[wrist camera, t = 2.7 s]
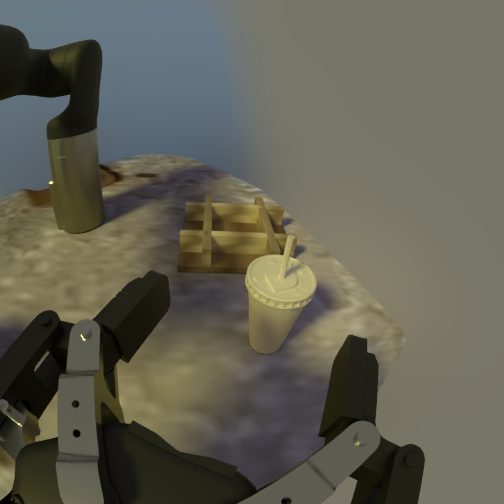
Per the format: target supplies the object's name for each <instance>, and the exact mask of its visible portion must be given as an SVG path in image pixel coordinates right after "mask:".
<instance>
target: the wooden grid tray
mask: <svg viewBox="0 0 504 504" xmlns="http://www.w3.org/2000/svg"><path fill="white" fill-rule="evenodd" d="M283 213H284V208H283V207H279V206H265V205H264V202H263V199H262V198H259V197H255V204H254V205H248V204H228V203H212V195H206V197H205V202H186V205H185V225H184V230H180V234H179V235H180V255H179V262H178V272H202V273H245V274H247V269H248V266H249V265H250V263H251V262H252V261H254V260H255V259H257V258H259V257H262V256H266V255H283V254H284V250H285V246H286V241H287V237H288V235H293V236H295V238H294V242H293V246H292V251H291V255H290V257H292V258H294V256H293V254H294V250H295V246H296V242H297V237H296V235H295V234H285V233H284V230H283V228H282V225H281V223H282V218H283Z"/></svg>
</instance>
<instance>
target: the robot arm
mask: <svg viewBox="0 0 504 504" xmlns="http://www.w3.org/2000/svg"><path fill="white" fill-rule="evenodd" d="M101 69H102V51H101V47H100V45H99V43H98V42H97V41H95V40H84V41H79V42H76V43H72V44H68V45H64V46H61V47H58V48H54V49H49V50H38V49H30V48H29V44H28V41H27V39H26V38H25V35H24V34H23V33H22V32H21V31H19V30H18V29H16V28H13V27H10V26H6V25H0V100H3V99H7V98H9V97H13V96H16V95H31V96H32V95H33V96H40V97H48V98H52V97H59V96H64V95H70V94H71V95H70V102H69V105H68V107H67V108H66V109H65V110H64V111H63V112H62V113H61V114H60V115H58V116H57V117H55V118H54V119H52V120H51V121H49V123H48V124H47V140H48V150H49V159H50V166H51V174H52V179H51V180H50V181H49V188H50V194H51V199H52V204H53V208H54V213H55V217H56V221H57V225H58V229H63V230H64V231H66V232H68V233H82V232H86V231H89V230H91V229H93V228H95V227H97V226H99V225H100V224H101V223H102V222H103V221H104V219H105V211H104V204H103V196H102V188H101V180H100V170H99V159H98V144H97V114H98V108H99V89H100V79H101ZM169 306H170V292H169V283H168V277H167V276H166V275H163V274H161V273H158V272H155V271H153V270H152V271H149V272H148V273H147V274H146V275H145V276H144V277H143V278H137V279H135V280H133V281H131V282H129V283H128V284H127V285H126V286H125V287H124V288H123V289H122V290H121V292H119V293H118V294H117V295H116V297H114V298H113V299H112V300H111V301H110V302H109V303H108V304H107V305H106V306H105V307H104V308H103V309H102V310H101V312H100V313H99V314H98V315H97V316H96V317H95V318H94V319H93V320H89V319H86V320H81V321H79V322H77V323H76V324H73V323H69V322H64V321H61V320H60V318H59V316H58V314H57V313H56V312H54V311H52V310H47V311H44V312H42V313H40V314H39V315H38V316H37V317H36V318H35V319H34V320H33V321H32V322H31V323H30V325H29V326H28V327H27V328H26V329H25V330H24V331H23V332H22V334H21V335H20V336H19V337H18V338H17V339H16V341H15V342H14V343H13V344H12V345H11V347H10V348H9V349H8V350H7V352H6V353H5V354H4V355H3V357H2V358H1V359H0V445H1V446H2V447H3V448H4V449H5V451H6V452H7V453H8V454H9V455H10V456H11V457H12V458H13V459H14V460H15V461H16V463H15V479H14V484H13V488H12V490H11V492H10V493H9V494H8V495H7V496H6V497H4V498H3V499H2V500H0V504H320V503H322V502H323V501H324V500H325V499H327V498H328V497H329V496H331V495H332V494H333V492H334V491H335V489H336V487H337V486H338V485H339V484H340V483H341V482H343V481H344V480H345V479H346V478H347V477H348V476H349V477H352V478H354V479H356V480H358V481H357V484H356V488H355V491H354V495H353V498H352V501H351V504H417V503H418V498H419V493H420V488H421V483H422V477H423V470H424V462H425V457H424V453H423V451H422V450H421V448H420V447H418V446H416V445H414V444H408V445H405V446H403V447H400V446H398V445H396V444H393V443H391V442H389V441H387V440H386V439H384V438H383V437H382V436H381V435H380V433H379V431H378V429H377V428H376V424H375V417H376V406H377V391H378V388H377V386H378V366H379V365H378V363H377V360H376V357H375V355H374V354H372V353H368V352H367V339H365V338H361V337H357V336H354V335H349V336H348V337H347V339H346V340H345V342H344V344H343V345H342V347H341V349H340V350H339V352H338V354H337V355H336V357H335V360H334V362H333V366H332V371H331V376H330V382H329V388H328V393H327V398H326V403H325V408H324V413H323V417H322V422H321V426H320V431H319V435H318V436H320V437H325V443H324V446H323V447H321V448H320V449H319V450H317V451H316V452H315V453H313V454H312V455H311V456H309V457H308V458H307V459H305V460H304V461H302V462H301V463H300V464H298V465H297V466H295V467H294V468H292V469H291V470H289V471H288V472H286V473H285V474H283V475H281V476H280V477H278V478H277V479H275V480H273V481H272V482H270V483H268V484H267V485H265V486H263V487H262V488H260V489H258V490H257V489H256V488H255V486H254V485H253V484H252V483H251V482H250V481H249V480H248V479H247V478H246V477H245V476H243V475H242V474H241V473H239V472H237V471H236V469H237V467H236V466H233V465H230V464H227V463H224V462H221V461H218V460H216V459H213V458H210V457H205V456H199V455H193V454H188V453H183V452H179V451H177V450H176V449H175V448H173V447H172V446H171V445H170V444H168V443H167V442H166V441H165V440H164V439H162V438H161V437H160V436H159V435H158V434H157V433H155V432H153V431H151V430H149V429H147V428H146V427H144V426H142V425H140V424H138V423H137V422H135V421H132V422H131V424H126V423H125V421H124V415H123V411H122V408H121V406H120V402H119V392H118V377H117V364H116V363H117V362H118V361H119V359H121V360H123V361H125V362H126V363H128V362H129V361H130V360H131V358H132V357H133V356H134V354H135V353H136V352H137V350H138V349H139V348H140V346H141V345H142V344H143V342H144V341H145V340H146V338H147V337H148V336H149V335H150V333H151V332H152V331H153V329H154V328H155V327H156V325H157V324H158V323H159V321H160V320H161V319H162V318H163V316H164V315H165V314H166V312H167V311H168V309H169ZM47 351H49V352H50V353H49V354H48V356H47V357H46V358H45V360H44V361H43V362H42V363H41V365H40V366H39V367H38V369H37V370H36V371H35V372H34V369H35V366H36V365H37V363H38V362H39V361H40V359H41V358H42V357H43V356H44V354H45V353H46V352H47ZM57 391H58V437H56V438H52V439H47V440H43V441H38V442H35V438H36V436H39V435H40V432H41V431H40V428H39V423H38V420H39V418H40V417H41V415H42V413H43V412H44V410H45V409H46V407H47V406H48V404H49V403H50V401H51V400H52V398H53V397H54V395H55V394H56V392H57Z"/></svg>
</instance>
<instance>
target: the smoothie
mask: <svg viewBox="0 0 504 504" xmlns="http://www.w3.org/2000/svg"><path fill="white" fill-rule="evenodd" d="M294 238H295V236H293V235H288V237H287V241H286V246H285V250H284V254H283V255H266V256H262V257H259V258H257V259H255V260H254V261H252V262H251V263H250V265H249V266H248V269H247V274H246V277H245V284H246V287H247V289H248V291H249V295H248V297H249V343H250V345H251V347H252V348H253V349H254V350H256V351H257V352H260V353H263V354H271V353H274V352H276V351H277V350H279V348H280V347H281V345H282V344H283V342H284V340H285V339H286V337H287V335H288V334H289V332H290V330H291V328H292V327H293V325H294V323H295V322H296V320H297V318H298V316H299V315H300V313H301V311H302V310H303V308H304V306H305V305H306V304H307V303H309V302H310V301H311V300H312V298H313V296H314V294H315V289H316V286H317V280H316V277H315V275H314V273H313V271H312V270H311V269H310V268H309V267H308V266H307V265H305V264H304V263H303V262H301V261H299V260H297V259H295V258H292V257H290V255H291V251H292V246H293V242H294Z"/></svg>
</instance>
